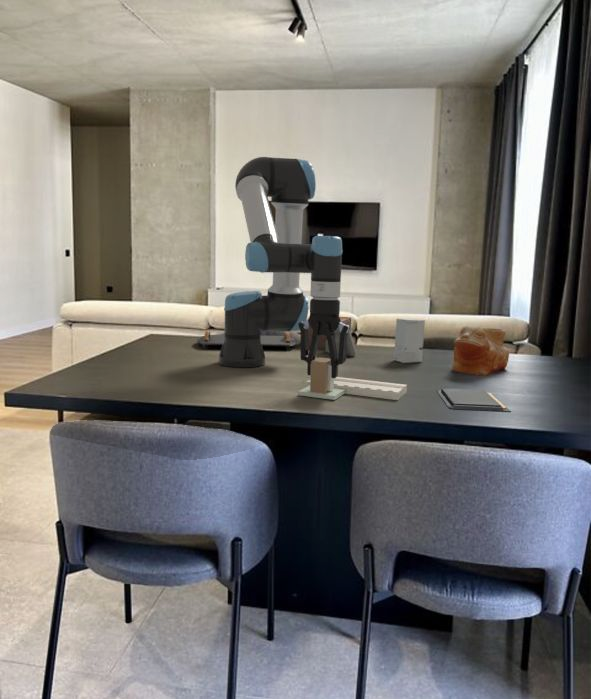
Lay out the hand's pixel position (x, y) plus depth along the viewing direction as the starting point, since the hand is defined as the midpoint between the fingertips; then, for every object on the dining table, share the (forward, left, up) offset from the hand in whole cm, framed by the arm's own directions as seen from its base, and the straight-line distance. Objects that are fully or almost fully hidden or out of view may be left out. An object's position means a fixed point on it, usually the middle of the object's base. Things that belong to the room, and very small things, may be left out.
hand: (321, 388), depth 152 cm
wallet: (+36, +13, -3) cm, 38 cm away
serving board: (-54, +61, -2) cm, 82 cm away
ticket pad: (+6, +9, -2) cm, 12 cm away
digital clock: (-16, +64, -2) cm, 66 cm away
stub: (0, 0, -2) cm, 2 cm away
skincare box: (+9, +61, -2) cm, 62 cm away
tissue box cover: (-30, +85, -2) cm, 91 cm away
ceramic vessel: (+33, +58, -2) cm, 67 cm away
